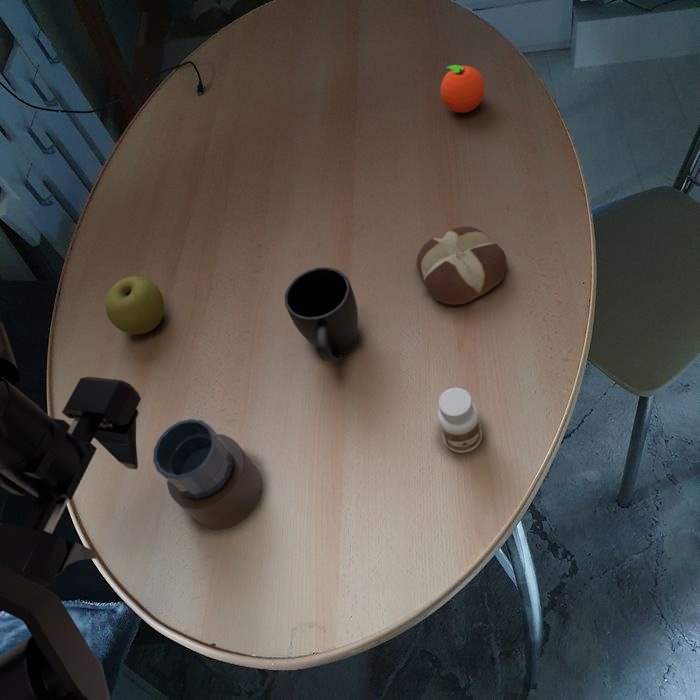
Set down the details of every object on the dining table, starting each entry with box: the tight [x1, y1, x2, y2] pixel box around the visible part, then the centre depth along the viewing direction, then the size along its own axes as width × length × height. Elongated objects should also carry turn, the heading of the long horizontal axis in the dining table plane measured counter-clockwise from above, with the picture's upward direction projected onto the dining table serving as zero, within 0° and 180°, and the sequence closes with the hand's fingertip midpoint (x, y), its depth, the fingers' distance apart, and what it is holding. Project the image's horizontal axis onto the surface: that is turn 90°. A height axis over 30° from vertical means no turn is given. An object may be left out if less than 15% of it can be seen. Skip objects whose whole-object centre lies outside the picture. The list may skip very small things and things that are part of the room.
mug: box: [284, 266, 359, 363], centre depth 83 cm, size 8×12×10 cm
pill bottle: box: [436, 387, 483, 454], centre depth 73 cm, size 4×4×8 cm
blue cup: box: [152, 418, 233, 498], centre depth 72 cm, size 7×7×6 cm
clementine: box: [440, 64, 486, 114], centre depth 107 cm, size 8×7×7 cm
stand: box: [166, 433, 263, 530], centre depth 77 cm, size 9×9×6 cm
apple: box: [104, 275, 165, 335], centre depth 95 cm, size 8×8×7 cm
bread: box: [416, 226, 507, 306], centre depth 88 cm, size 11×11×5 cm
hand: (113, 510), depth 66 cm, fingers open, 9 cm apart
